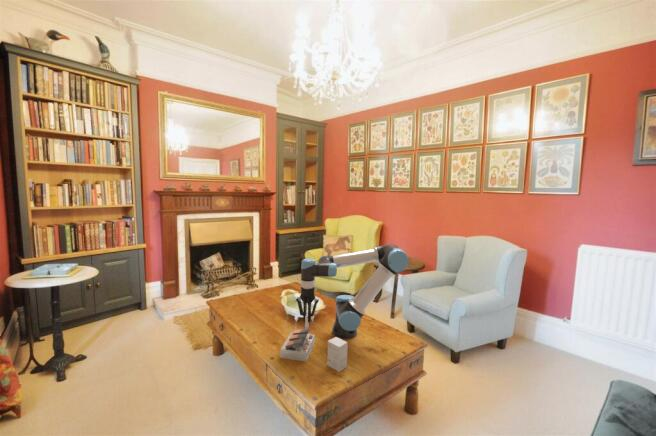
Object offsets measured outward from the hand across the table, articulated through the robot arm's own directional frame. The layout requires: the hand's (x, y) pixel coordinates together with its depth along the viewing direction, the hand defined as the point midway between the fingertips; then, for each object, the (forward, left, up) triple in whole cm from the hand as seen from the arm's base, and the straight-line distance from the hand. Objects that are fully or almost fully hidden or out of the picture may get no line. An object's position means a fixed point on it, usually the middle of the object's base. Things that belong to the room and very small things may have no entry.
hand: (306, 327), depth 164 cm
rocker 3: (+3, +12, -4) cm, 13 cm away
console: (+3, +6, -11) cm, 13 cm away
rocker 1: (+3, 0, -4) cm, 5 cm away
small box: (-20, +15, -11) cm, 27 cm away
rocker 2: (+3, +6, -4) cm, 8 cm away
